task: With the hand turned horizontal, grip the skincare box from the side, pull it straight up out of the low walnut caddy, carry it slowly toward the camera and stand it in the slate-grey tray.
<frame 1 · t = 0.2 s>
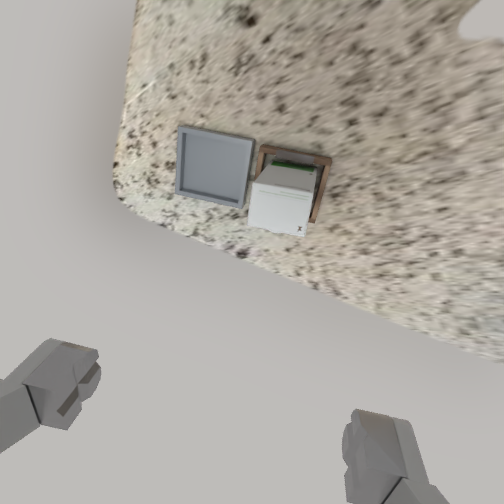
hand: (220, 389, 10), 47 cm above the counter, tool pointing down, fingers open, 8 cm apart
skincare box: (289, 181, 54), resting in walnut caddy
walnut caddy: (289, 182, 54), on the counter
slate tray: (215, 166, 55), on the counter
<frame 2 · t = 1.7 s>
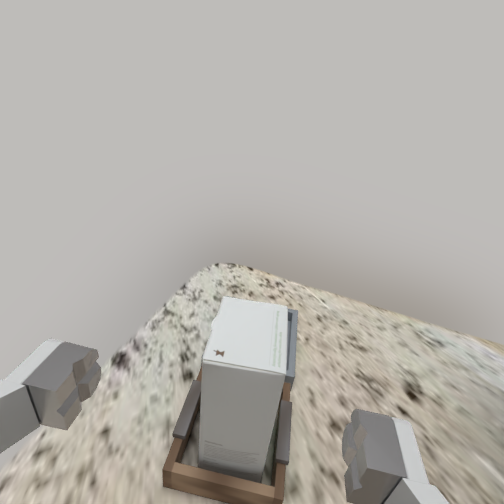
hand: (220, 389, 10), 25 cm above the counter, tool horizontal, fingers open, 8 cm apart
skincare box: (233, 438, 33), resting in walnut caddy
walnut caddy: (233, 436, 33), on the counter
slate tray: (253, 343, 44), on the counter
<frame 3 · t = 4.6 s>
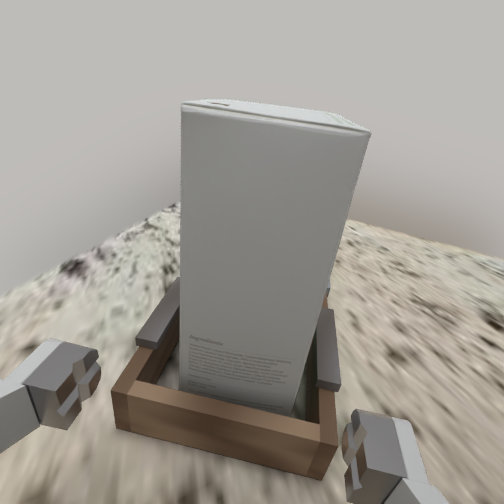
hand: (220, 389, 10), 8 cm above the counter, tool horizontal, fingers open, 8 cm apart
skincare box: (238, 365, 21), resting in walnut caddy
walnut caddy: (239, 362, 20), on the counter
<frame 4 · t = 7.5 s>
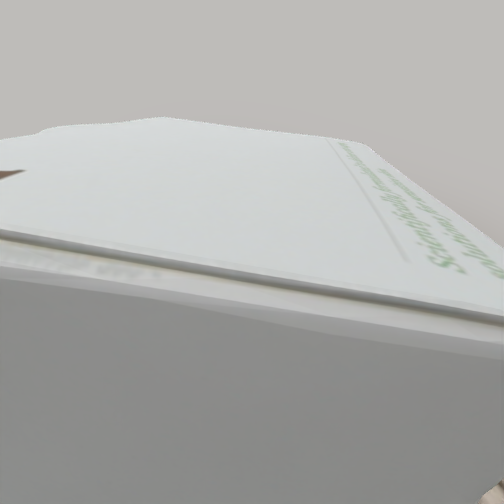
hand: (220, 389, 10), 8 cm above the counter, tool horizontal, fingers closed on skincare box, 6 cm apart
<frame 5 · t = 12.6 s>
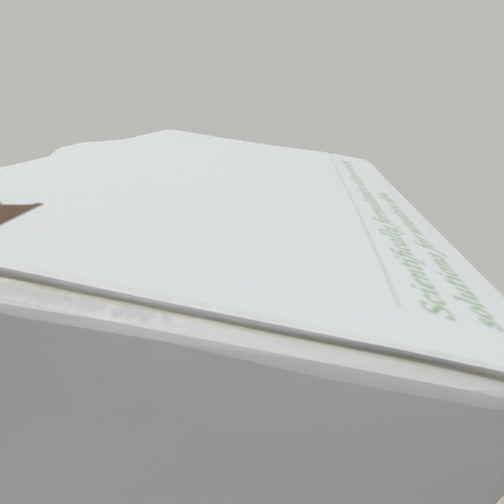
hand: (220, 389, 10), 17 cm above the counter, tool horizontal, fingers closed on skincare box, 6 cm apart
when the fingers open (10 cm above the counter, at t = 16.5 s): skincare box stays where it is, resting on slate tray.
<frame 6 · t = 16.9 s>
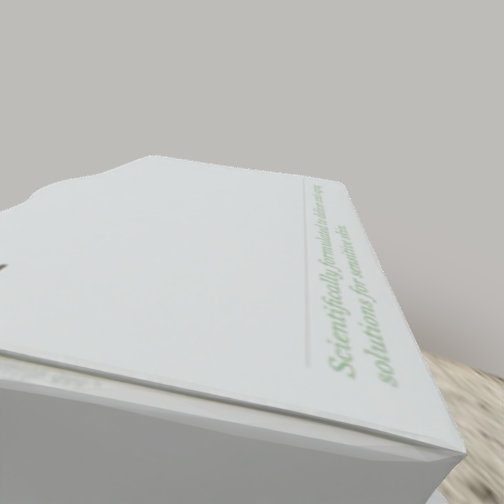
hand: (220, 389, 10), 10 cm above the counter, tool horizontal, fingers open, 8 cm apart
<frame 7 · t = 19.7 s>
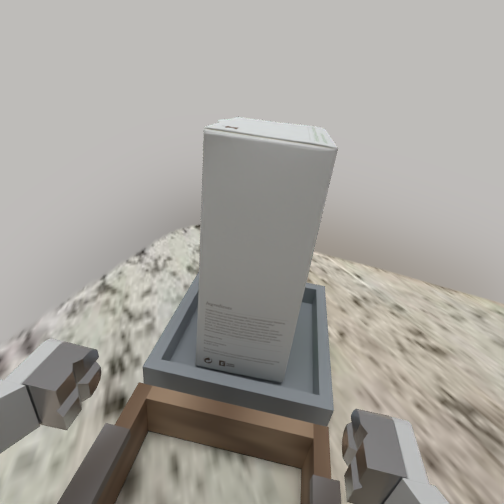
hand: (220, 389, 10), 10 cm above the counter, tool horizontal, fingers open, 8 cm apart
skincare box: (244, 335, 25), point 1 cm above the counter, touching slate tray
slate tray: (248, 341, 25), on the counter
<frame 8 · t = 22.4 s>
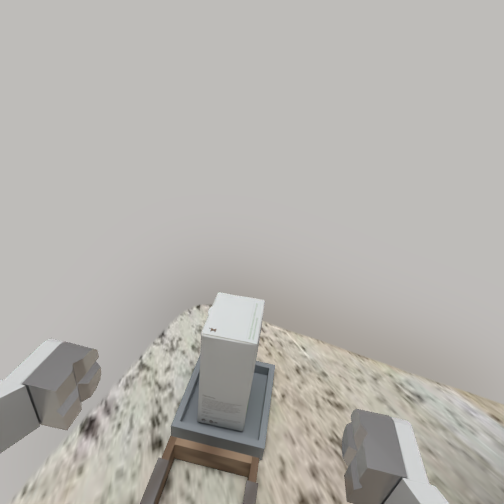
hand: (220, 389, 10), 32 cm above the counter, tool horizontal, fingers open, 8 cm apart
skincare box: (224, 400, 44), point 1 cm above the counter, touching slate tray
slate tray: (227, 403, 44), on the counter
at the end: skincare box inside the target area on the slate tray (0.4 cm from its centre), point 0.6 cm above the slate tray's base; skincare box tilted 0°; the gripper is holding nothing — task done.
